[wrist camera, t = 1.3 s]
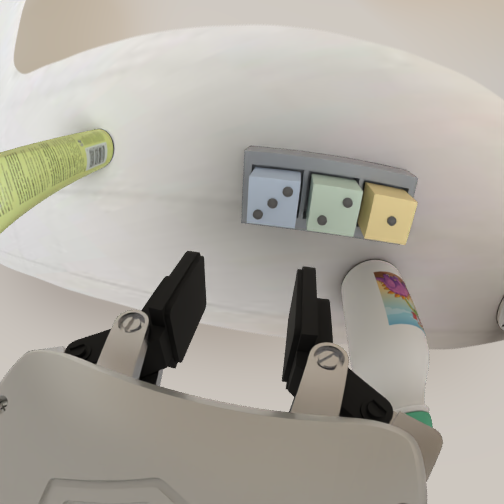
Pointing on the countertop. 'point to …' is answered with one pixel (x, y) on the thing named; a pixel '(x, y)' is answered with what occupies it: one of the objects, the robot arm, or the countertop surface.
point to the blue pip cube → (273, 197)
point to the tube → (48, 169)
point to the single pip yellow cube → (386, 213)
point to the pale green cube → (333, 205)
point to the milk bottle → (386, 336)
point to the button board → (322, 166)
